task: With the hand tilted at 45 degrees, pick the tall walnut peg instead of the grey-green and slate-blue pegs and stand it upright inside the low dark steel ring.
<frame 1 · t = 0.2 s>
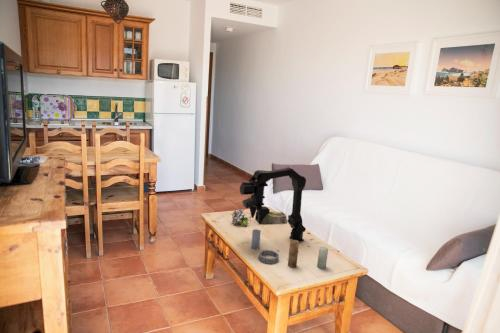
hand: (255, 220, 193), 15 cm above the table, tool pointing down, fingers open, 9 cm apart
grey-green peg: (321, 266, 177), on the table
steel ring: (268, 259, 181), on the table
walnut peg: (292, 265, 176), on the table
dark olive boxy piece: (270, 222, 234), on the table
green succulent plant: (240, 224, 226), on the table
slate-blue peg: (255, 247, 193), on the table
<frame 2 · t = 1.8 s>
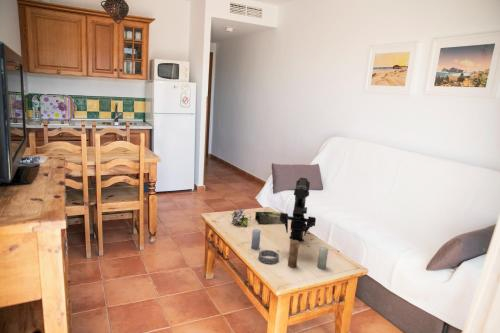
hand: (295, 234, 181), 13 cm above the table, tool tilted 45°, fingers open, 9 cm apart
nothing on the table moved.
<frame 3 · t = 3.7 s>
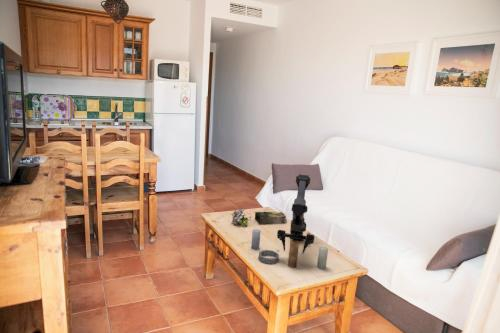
hand: (293, 252, 174), 7 cm above the table, tool tilted 45°, fingers open, 9 cm apart
nothing on the table moved.
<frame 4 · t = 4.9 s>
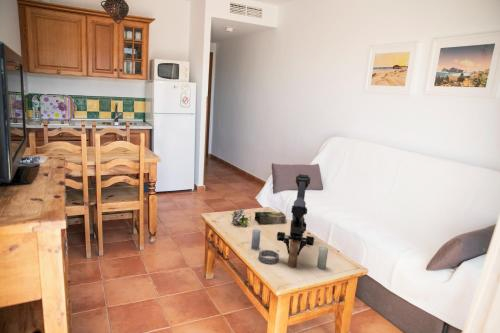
hand: (293, 254, 173), 7 cm above the table, tool tilted 45°, fingers closed on walnut peg, 4 cm apart
walnut peg: (292, 265, 176), on the table, touching gripper
everything else where it was.
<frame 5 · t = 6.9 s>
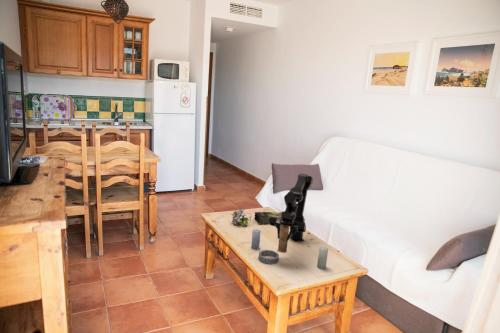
hand: (282, 239, 173), 13 cm above the table, tool tilted 45°, fingers closed on walnut peg, 4 cm apart
walnut peg: (282, 250, 176), point 7 cm above the table, touching gripper
everything else where it was.
when the fingers open (8 cm above the table, at t = 9.2 s): walnut peg drops 1 cm, resting in steel ring.
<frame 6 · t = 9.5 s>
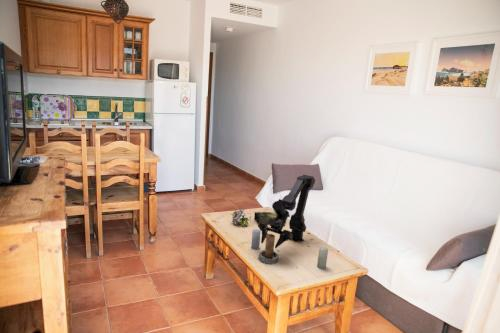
hand: (268, 245, 178), 8 cm above the table, tool tilted 45°, fingers open, 8 cm apart
walnut peg: (268, 259, 181), resting in steel ring
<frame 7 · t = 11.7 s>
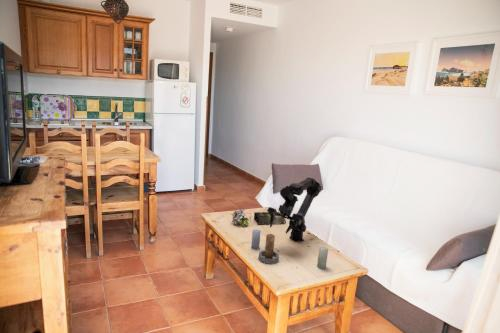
hand: (278, 230, 186), 13 cm above the table, tool tilted 40°, fingers open, 9 cm apart
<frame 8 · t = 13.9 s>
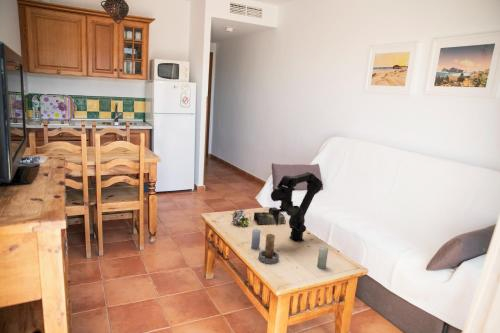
hand: (284, 224, 197), 12 cm above the table, tool pointing down, fingers open, 9 cm apart
at the end: walnut peg 0.1 cm off-centre on the steel ring, point 0.0 cm above the steel ring's base; walnut peg tilted 0°; the gripper is holding nothing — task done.
